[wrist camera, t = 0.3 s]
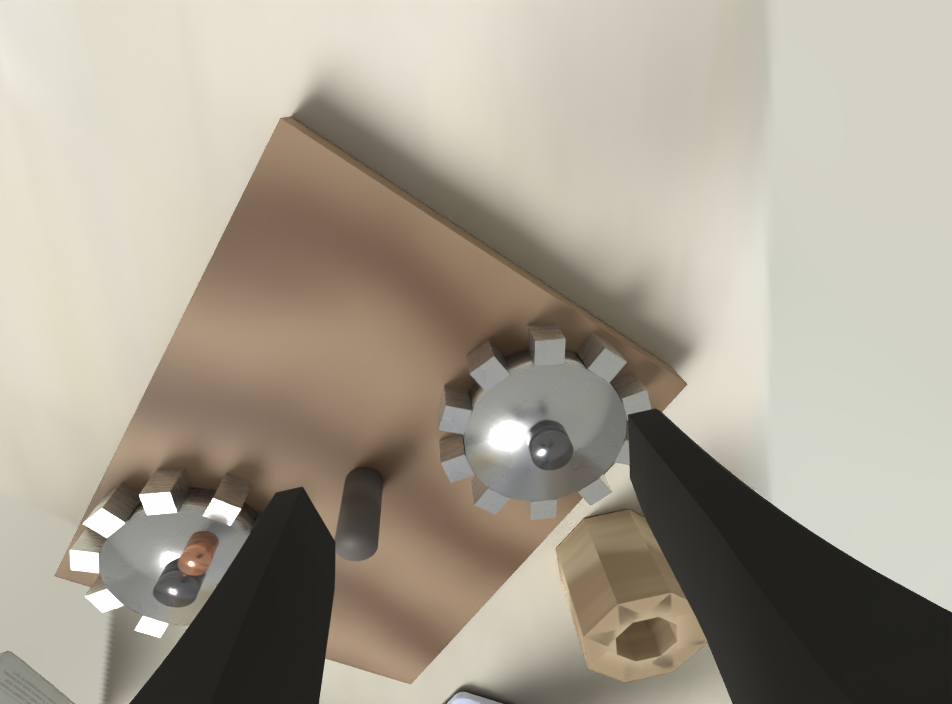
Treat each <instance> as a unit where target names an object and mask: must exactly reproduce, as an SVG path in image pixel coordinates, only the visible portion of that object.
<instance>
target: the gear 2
mask: <svg viewBox="0 0 952 704" xmlns="http://www.w3.org/2000/svg"><path fill="white" fill-rule="evenodd" d="M565 341H566V339H565V337H564V336H563V334H562V332H561V331H560V329H559V327H558V326H557V324H556V323H541V324H527V349H526V350H522V351H519V352H516V353H513V354H511V355H508V356H506V357H504V356H503V355H502V354H501V352H500V351H499V350H498V349H497V348H496V347H495V345H494V344H493V343H492V342H491V341H490V340H489V339H487V340H486V341H485V342H483V343H482V344H480V345H479V346H478V347H476V348H475V349H474V350H472V351H471V352H470V353H468V354H467V355H466V359H467V364H468V369H469V374H470V375H471V376H472V377H473V378H474V379H475V383H474V384H473V386H472V387H471V389H470V390H469V392H468V390H464V389H459V388H454V387H449V386H444V387H443V390H442V393H441V397H440V400H439V403H438V407H437V417H438V430H441V431H447V432H452V433H458V434H455V435H452V436H450V437H447V438H444V439H441V440H439V445H440V460H441V464H442V466H443V469H444V471H445V473H446V475H447V477H448V479H449V481H450V483H453V482H456V481H458V480H461V479H464V478H467V477H470V476H473V475H474V473H475V474H476V475H475V477H474V478H473V479H472V480H471V486H472V493H473V499H474V505H475V506H477V507H480V508H482V509H484V510H486V511H488V512H491V513H493V514H495V515H496V514H497V513H498V512H499V511H500V510H501V508H502V507H503V506H504V505H505V504H506V503H507V501H508V500H509V499H510V498H513V499H517V500H524V501H525V502H526V506H527V509H528V513H529V517H530V520H537V519H547V518H556V506H557V498H561V497H565V496H568V495H570V494H573V493H575V492H577V491H578V493H579V494H580V495H581V496H582V497H583V498H584V499H585V500H586V501H587V503H588V504H589V505H590V506H591V505H592V504H594V503H596V502H597V501H599V500H600V499H602V498H604V497H605V496H607V495H608V494H610V493H611V492H612V491H611V489H610V487H609V485H608V483H607V481H606V479H605V477H604V475H603V474H604V473H605V472H606V471H607V470H608V468H609V467H610V466H611V465H612V463H613V462H616V463H621V464H627V465H630V461H629V432H628V423H627V422H626V419H627V421H628V414H632V413H637V412H641V411H646V410H650V409H651V405H650V401H649V397H648V392H647V389H646V388H645V387H644V385H643V384H642V383H641V382H640V380H639V379H638V378H637V377H636V375H635V374H634V373H633V371H631V372H629V373H626V374H623V375H620V376H617V377H615V376H616V375H617V373H618V372H619V371H620V370H621V369H622V368H623V366H624V365H625V364H626V363H627V362H626V360H625V359H624V358H623V357H622V355H621V354H620V353H619V352H618V350H617V349H616V348H615V346H614V345H613V344H611V343H610V342H608V341H606V340H605V339H603V338H602V337H600V336H599V335H597V334H596V333H594V332H593V331H592V332H591V334H590V335H589V336H588V337H587V339H586V340H585V341H584V342H583V344H582V345H581V346H580V347H579V348H578V350H577V351H576V352H577V353H576V352H573V351H571V350H567V349H565ZM614 377H615V378H614Z"/></svg>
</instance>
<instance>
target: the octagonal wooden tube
mask: <svg viewBox="0 0 952 704" xmlns="http://www.w3.org/2000/svg"><path fill="white" fill-rule="evenodd" d="M556 552H557V558H558V564H559V571H560V577H561V581H562V584H563V588H564V591H565V594H566V598H567V601H568V604H569V607H570V611H571V614H572V617H573V621H574V624H575V627H576V631H577V634H578V637H579V641H580V644H581V647H582V651H583V654H584V657H585V660H586V664H587V667H588V669H590V670H592V671H595V672H598V673H601V674H603V675H606V676H609V677H612V678H614V679H617V680H620V681H623V682H628V681H633V680H637V679H642V678H646V677H651V676H655V675H660V674H664V673H669V672H673V671H674V670H675V669H677V668H678V667H679V666H680V665H681V664H682V663H684V662H685V661H686V660H687V659H688V658H689V657H691V656H692V655H693V654H694V653H695V652H697V651H698V650H699V649H700V648H701V647H702V646H704V645H705V644H706V643H707V640H706V637H705V635H704V633H703V631H702V629H701V627H700V625H699V623H698V620H697V618H696V616H695V614H694V612H693V610H692V609H691V607H690V605H689V603H688V601H687V599H686V597H685V595H684V593H683V591H682V589H681V587H680V585H679V583H678V581H677V580H676V578H675V576H674V574H673V572H672V570H671V568H670V566H669V564H668V562H667V560H666V558H665V556H664V554H663V552H662V550H661V548H660V547H659V545H658V543H657V541H656V539H655V537H654V535H653V533H652V531H651V529H650V527H649V525H648V523H647V521H646V518H644V517H643V516H641V515H639V514H637V513H635V512H633V511H631V510H629V509H627V510H622V511H618V512H613V513H609V514H604V515H599V516H595V517H590V518H586V519H583V520H582V521H581V522H580V523H579V525H578V526H577V527H576V528H575V529H574V530H573V531H572V532H571V533H570V534H569V535H568V536H567V537H566V538H565V539H564V540H563V542H562V543H561V544H560V545H559V546H558V547H557V548H556Z"/></svg>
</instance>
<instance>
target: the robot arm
mask: <svg viewBox="0 0 952 704" xmlns="http://www.w3.org/2000/svg"><path fill="white" fill-rule="evenodd" d="M628 432H629V461H630V479H631V481H632V484H633V487H634V490H635V492H636V495H637V498H638V500H639V503H640V506H641V508H642V511H643V513H644V516H645V518H646V521H647V523H648V525H649V527H650V529H651V531H652V533H653V535H654V537H655V539H656V541H657V543H658V545H659V547H660V548H661V550H662V552H663V554H664V556H665V558H666V560H667V562H668V564H669V566H670V568H671V570H672V572H673V574H674V576H675V578H676V580H677V581H678V583H679V585H680V587H681V589H682V591H683V593H684V595H685V597H686V599H687V601H688V603H689V605H690V607H691V609H692V610H693V612H694V614H695V616H696V618H697V620H698V623H699V625H700V627H701V629H702V631H703V633H704V635H705V637H706V640H707V642H708V644H709V647H710V649H711V652H712V654H713V656H714V659H715V661H716V664H717V666H718V669H719V671H720V674H721V676H722V678H723V681H724V683H725V686H726V688H727V691H728V693H729V696H730V698H731V701H732V703H733V704H952V612H950V611H948V610H946V609H944V608H942V607H940V606H938V605H937V604H935V603H933V602H931V601H929V600H927V599H926V598H924V597H922V596H920V595H918V594H916V593H914V592H913V591H911V590H909V589H907V588H905V587H903V586H902V585H900V584H898V583H896V582H894V581H892V580H891V579H889V578H887V577H885V576H884V575H882V574H880V573H878V572H876V571H874V570H873V569H871V568H869V567H868V566H866V565H864V564H863V563H861V562H859V561H858V560H856V559H854V558H852V557H851V556H849V555H848V554H846V553H844V552H843V551H841V550H839V549H838V548H836V547H835V546H833V545H832V544H830V543H828V542H827V541H825V540H824V539H822V538H821V537H819V536H817V535H816V534H814V533H813V532H811V531H810V530H808V529H807V528H805V527H804V526H802V525H801V524H799V523H798V522H796V521H795V520H793V519H792V518H791V517H789V516H788V515H786V514H785V513H784V512H782V511H781V510H779V509H778V508H777V507H775V506H774V505H773V504H771V503H770V502H768V501H767V500H766V499H764V498H763V497H762V496H760V495H759V494H758V493H756V492H755V491H754V490H752V489H751V488H750V487H748V486H747V485H746V484H745V483H743V482H742V481H741V480H740V479H738V478H737V477H736V476H735V475H733V474H732V473H731V472H730V471H728V470H727V469H726V468H725V467H723V466H722V465H721V464H720V463H718V462H717V461H716V460H715V459H714V458H712V457H711V456H710V455H709V454H708V453H706V452H705V451H704V450H703V449H702V448H701V447H700V446H698V445H697V444H696V443H695V442H694V441H693V440H692V439H690V438H689V437H688V436H687V435H686V434H685V433H684V432H683V431H681V430H680V429H679V428H678V427H677V426H676V425H675V424H674V423H673V422H672V421H671V420H670V419H668V418H667V417H666V416H665V415H664V414H663V413H662V412H661V411H659V410H658V409H656V408H655V409H650V410H646V411H641V412H637V413H632V414H628ZM335 548H336V542H335V540H334V539H333V537H332V535H331V533H330V532H329V530H328V528H327V527H326V525H325V523H324V522H323V520H322V518H321V517H320V515H319V513H318V511H317V510H316V508H315V506H314V505H313V503H312V501H311V500H310V498H309V496H308V494H307V493H306V491H305V489H304V488H303V486H302V487H298V488H293V489H289V490H284V491H280V492H276V493H275V495H274V496H273V498H272V499H271V501H270V502H269V504H268V505H267V507H266V509H265V510H264V512H263V513H262V515H261V517H260V518H259V520H258V521H257V523H256V525H255V526H254V528H253V530H252V531H251V533H250V534H249V536H248V538H247V539H246V541H245V542H244V544H243V546H242V547H241V549H240V550H239V552H238V554H237V555H236V557H235V558H234V560H233V561H232V563H231V565H230V566H229V568H228V569H227V571H226V572H225V574H224V575H223V577H222V579H221V580H220V582H219V583H218V585H217V586H216V588H215V589H214V591H213V592H212V594H211V595H210V597H209V598H208V600H207V601H206V603H205V604H204V606H203V607H202V608H201V610H200V611H199V613H198V614H197V616H196V617H195V618H194V620H193V621H192V623H191V624H190V626H189V627H188V628H187V630H186V631H185V633H184V634H183V636H182V637H181V638H180V640H179V641H178V643H177V644H176V645H175V647H174V648H173V649H172V651H171V652H170V653H169V655H168V656H167V657H166V658H165V660H164V661H163V662H162V664H161V665H160V666H159V668H158V669H157V670H156V671H155V673H154V674H153V675H152V676H151V678H150V679H149V680H148V681H147V683H146V684H145V685H144V686H143V688H142V689H141V690H140V691H139V693H138V694H137V695H136V696H135V697H134V699H133V700H132V701H131V702H130V703H129V704H319V698H320V691H321V684H322V677H323V670H324V663H325V656H326V649H327V642H328V635H329V628H330V621H331V613H332V606H333V598H334V590H335ZM447 704H503V703H499V702H496V701H493V700H490V699H487V698H483V697H480V696H477V695H474V694H470V693H467V692H459V693H457V694H456V695H455V696H454V697H453V698H452V699H451V700H450V701H449V702H448V703H447Z"/></svg>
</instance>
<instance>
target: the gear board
mask: <svg viewBox="0 0 952 704" xmlns="http://www.w3.org/2000/svg"><path fill="white" fill-rule="evenodd" d="M541 323H556V324H557V326H558V327H559V329H560V331H561V332H562V334H563V336H564V337H565V339H566V341H565V349H567V350H571V351H573V352H576V351H577V350H578V348H579V347H580V346H581V345H582V344H583V342H584V341H585V340H586V339H587V337H588V336H589V335H590V334H591V332H592V331H593V332H594V333H596V334H597V335H599V336H600V337H602V338H603V339H605V340H606V341H608V342H610V343H611V344H613V345H614V346H615V348H616V349H617V350H618V352H619V353H620V354H621V355H622V357H623V358H624V359H625V360H626V362H627V363H626V364H625V365H624V366H623V368H622V369H621V370H620V371H619V372H618V373H617V375H616V376H615V377H617V376H620V375H623V374H626V373H629V372H631V371H633V373H634V374H635V375H636V377H637V378H638V379H639V380H640V382H641V383H642V384H643V385H644V387H645V388H646V389H647V392H648V397H649V401H650V405H651V409H655V408H656V409H658V410H659V411H661V412H662V411H663V410H664V409H665V408H666V407H667V406H668V405H669V404H670V403H671V402H672V400H673V399H674V398H675V397H676V396H677V395H678V394H679V393H680V392H681V391H682V390H683V389H684V387H685V386H686V385H687V383H686V382H685V381H684V380H683V379H682V378H681V377H680V376H679V375H678V374H677V373H676V372H675V370H674V369H673V368H672V367H670V366H669V365H667V364H666V363H664V362H663V361H661V360H660V359H658V358H657V357H655V356H653V355H652V354H650V353H649V352H647V351H646V350H644V349H643V348H641V347H640V346H638V345H637V344H635V343H634V342H632V341H631V340H629V339H628V338H626V337H625V336H623V335H622V334H620V333H619V332H617V331H616V330H614V329H613V328H611V327H609V326H608V325H606V324H605V323H603V322H602V321H600V320H599V319H597V318H596V317H594V316H593V315H591V314H590V313H588V312H587V311H585V310H584V309H582V308H581V307H579V306H578V305H576V304H575V303H573V302H572V301H570V300H569V299H567V298H565V297H564V296H562V295H561V294H559V293H558V292H556V291H555V290H553V289H552V288H550V287H549V286H547V285H546V284H544V283H543V282H541V281H540V280H538V279H537V278H535V277H534V276H532V275H531V274H529V273H528V272H526V271H525V270H523V269H522V268H520V267H518V266H517V265H515V264H514V263H512V262H511V261H509V260H508V259H506V258H505V257H503V256H502V255H500V254H499V253H497V252H496V251H494V250H493V249H491V248H490V247H488V246H487V245H485V244H484V243H482V242H481V241H479V240H478V239H476V238H474V237H473V236H471V235H470V234H468V233H467V232H465V231H464V230H462V229H461V228H459V227H458V226H456V225H455V224H453V223H452V222H450V221H449V220H447V219H446V218H444V217H443V216H441V215H440V214H438V213H437V212H435V211H434V210H432V209H430V208H429V207H427V206H426V205H424V204H423V203H421V202H420V201H418V200H417V199H415V198H414V197H412V196H411V195H409V194H408V193H406V192H405V191H403V190H402V189H400V188H399V187H397V186H396V185H394V184H393V183H391V182H390V181H388V180H387V179H385V178H383V177H382V176H380V175H379V174H377V173H376V172H374V171H373V170H371V169H370V168H368V167H367V166H365V165H364V164H362V163H361V162H359V161H358V160H356V159H355V158H353V157H352V156H350V155H349V154H347V153H346V152H344V151H343V150H341V149H339V148H338V147H336V146H335V145H333V144H332V143H330V142H329V141H327V140H326V139H324V138H323V137H321V136H320V135H318V134H317V133H315V132H314V131H312V130H311V129H309V128H308V127H306V126H305V125H303V124H302V123H300V122H299V121H297V120H295V119H294V118H292V117H291V116H290V117H284V118H280V120H279V122H278V124H277V126H276V128H275V130H274V132H273V134H272V136H271V138H270V140H269V142H268V144H267V146H266V148H265V150H264V152H263V154H262V156H261V158H260V160H259V163H258V165H257V167H256V169H255V171H254V173H253V175H252V177H251V179H250V181H249V183H248V185H247V187H246V189H245V191H244V193H243V195H242V197H241V199H240V201H239V203H238V205H237V207H236V209H235V211H234V213H233V215H232V217H231V219H230V221H229V223H228V225H227V227H226V229H225V231H224V233H223V235H222V237H221V240H220V242H219V244H218V246H217V248H216V250H215V252H214V254H213V256H212V258H211V260H210V262H209V264H208V266H207V268H206V270H205V272H204V274H203V276H202V278H201V280H200V282H199V284H198V286H197V288H196V290H195V292H194V294H193V296H192V298H191V300H190V302H189V304H188V306H187V308H186V310H185V312H184V314H183V317H182V319H181V321H180V323H179V325H178V327H177V329H176V331H175V333H174V335H173V337H172V339H171V341H170V343H169V345H168V347H167V349H166V351H165V353H164V355H163V357H162V359H161V361H160V363H159V365H158V367H157V369H156V371H155V373H154V375H153V377H152V379H151V381H150V383H149V385H148V387H147V389H146V391H145V394H144V396H143V398H142V400H141V402H140V404H139V406H138V408H137V410H136V412H135V414H134V416H133V418H132V420H131V422H130V424H129V426H128V428H127V430H126V432H125V434H124V436H123V438H122V440H121V442H120V444H119V446H118V448H117V450H116V452H115V454H114V456H113V458H112V460H111V462H110V464H109V466H108V468H107V471H106V473H105V475H104V477H103V479H102V481H101V483H100V485H99V487H98V489H97V491H96V493H95V495H94V497H93V499H92V501H91V503H90V505H89V507H88V509H87V511H86V513H85V515H84V517H83V519H82V521H81V523H80V525H79V527H78V529H77V531H76V533H75V535H74V538H73V540H72V542H71V543H70V545H69V548H68V550H67V552H66V554H65V556H64V558H63V560H62V562H61V564H60V566H59V568H58V570H57V572H56V574H55V576H56V577H59V578H62V579H66V580H69V581H72V582H76V583H79V584H82V585H86V586H89V587H91V586H92V585H93V583H94V582H95V580H96V579H97V577H98V576H99V574H100V572H99V573H94V572H85V571H75V570H71V565H70V549H71V548H72V547H73V545H74V544H75V543H76V541H77V540H78V539H79V537H80V536H81V535H82V533H83V532H84V531H85V529H86V528H87V527H88V526H86V525H85V524H83V523H84V522H85V520H86V519H87V518H88V517H89V515H90V514H91V513H92V511H93V510H94V509H95V507H96V506H97V505H98V504H99V502H100V501H101V500H102V498H103V497H104V496H105V495H106V494H108V493H109V492H110V491H111V490H113V489H114V488H115V487H116V486H117V485H119V484H120V483H121V482H123V483H124V484H126V485H127V486H129V487H130V488H132V489H133V490H135V491H136V492H138V493H139V494H140V493H141V491H142V490H143V488H144V487H145V485H146V484H147V482H148V481H149V480H150V478H151V477H152V475H153V474H154V472H155V471H156V469H165V468H177V467H185V468H186V471H187V474H188V476H189V479H190V482H191V485H192V487H197V488H205V489H211V490H215V491H216V489H217V487H218V486H219V484H220V482H221V481H222V479H223V477H224V475H225V474H226V473H227V474H230V475H232V476H235V477H237V478H240V479H242V480H245V481H247V482H250V483H252V484H251V487H250V489H249V492H248V494H247V496H246V499H245V501H244V503H246V504H248V505H249V506H250V507H252V508H253V509H254V510H255V511H257V512H258V513H259V512H261V511H264V510H265V509H266V507H267V505H268V504H269V502H270V501H271V499H272V498H273V496H274V495H275V493H276V492H280V491H284V490H289V489H293V488H298V487H302V486H303V488H304V489H305V491H306V493H307V494H308V496H309V498H310V500H311V501H312V503H313V505H314V506H315V508H316V510H317V511H318V513H319V515H320V517H321V518H322V520H323V522H324V523H325V525H326V527H327V528H328V530H329V532H330V533H331V535H332V537H333V539H334V540H335V542H336V548H335V590H334V598H333V606H332V613H331V621H330V628H329V635H328V642H327V649H326V656H325V658H326V659H329V660H332V661H335V662H339V663H342V664H345V665H349V666H352V667H355V668H358V669H362V670H365V671H368V672H372V673H375V674H378V675H382V676H385V677H388V678H391V679H395V680H398V681H401V682H405V683H408V684H412V683H413V681H414V680H415V679H416V678H417V677H418V676H419V675H420V674H421V673H422V672H423V671H424V669H425V668H426V667H427V666H428V665H429V664H430V663H431V662H432V661H433V660H434V659H435V658H436V656H437V655H438V654H439V653H440V652H441V651H442V650H443V649H444V648H445V647H446V646H447V645H448V643H449V642H450V641H451V640H452V639H453V638H454V637H455V636H456V635H457V634H458V633H459V632H460V630H461V629H462V628H463V627H464V626H465V625H466V624H467V623H468V622H469V621H470V620H471V619H472V617H473V616H474V615H475V614H476V613H477V612H478V611H479V610H480V609H481V608H482V607H483V606H484V604H485V603H486V602H487V601H488V600H489V599H490V598H491V597H492V596H493V595H494V594H495V592H496V591H497V590H498V589H499V588H500V587H501V586H502V585H503V584H504V583H505V582H506V581H507V579H508V578H509V577H510V576H511V575H512V574H513V573H514V572H515V571H516V570H517V569H518V568H519V566H520V565H521V564H522V563H523V562H524V561H525V560H526V559H527V558H528V557H529V556H530V555H531V553H532V552H533V551H534V550H535V549H536V548H537V547H538V546H539V545H540V544H541V543H542V542H543V540H544V539H545V538H546V537H547V536H548V535H549V534H550V533H551V532H552V531H553V530H554V528H555V527H556V526H557V525H558V524H559V523H560V522H561V521H562V520H563V519H564V518H565V517H566V515H567V514H568V513H569V512H570V511H571V510H572V509H573V508H574V507H575V506H576V505H577V504H578V502H579V501H580V500H581V499H582V498H583V497H582V496H581V495H580V494H579V493H578V491H577V492H575V493H573V494H570V495H568V496H565V497H561V498H557V506H556V518H547V519H537V520H530V517H529V513H528V509H527V506H526V502H525V501H524V500H517V499H513V498H510V499H509V500H508V501H507V503H506V504H505V505H504V506H503V507H502V508H501V510H500V511H499V512H498V513H497V514H496V515H495V514H493V513H491V512H488V511H486V510H484V509H482V508H480V507H477V506H475V505H474V499H473V493H472V486H471V480H472V479H473V478H474V477H475V475H476V474H475V473H474V475H473V476H470V477H467V478H464V479H461V480H458V481H456V482H453V483H450V481H449V479H448V477H447V475H446V473H445V471H444V469H443V466H442V464H441V460H440V445H439V440H441V439H444V438H447V437H450V436H452V435H455V434H458V433H452V432H447V431H441V430H438V417H437V407H438V403H439V400H440V397H441V393H442V390H443V387H444V386H449V387H454V388H459V389H464V390H468V392H469V390H470V389H471V387H472V386H473V384H474V383H475V379H474V378H473V377H472V376H471V375H470V374H469V369H468V364H467V359H466V355H467V354H468V353H470V352H471V351H472V350H474V349H475V348H476V347H478V346H479V345H480V344H482V343H483V342H485V341H486V340H487V339H489V340H490V341H491V342H492V343H493V344H494V345H495V347H496V348H497V349H498V350H499V351H500V352H501V354H502V355H503V356H504V357H506V356H508V355H511V354H513V353H516V352H519V351H522V350H526V349H527V324H541ZM576 353H577V352H576ZM615 377H614V378H615ZM626 422H627V423H628V421H627V419H626ZM614 463H615V462H613V463H612V465H611V466H610V467H609V468H608V470H609V469H610V468H611V467H612V466H613V464H614ZM608 470H607V471H608ZM607 471H606V472H607ZM606 472H605V473H606ZM605 473H604V474H605ZM604 474H603V475H604Z"/></svg>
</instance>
